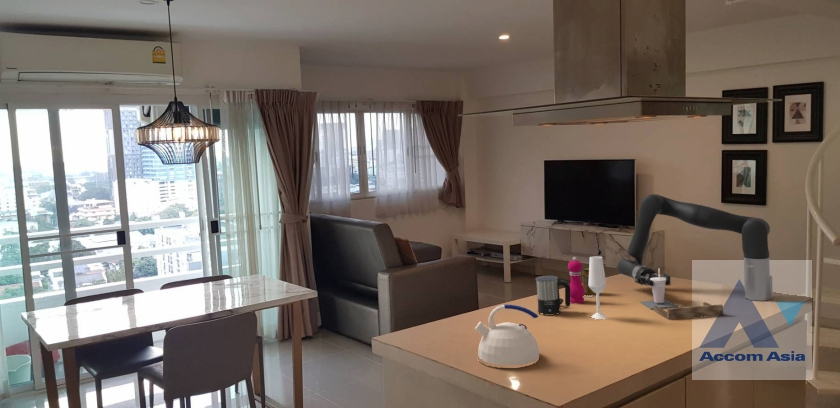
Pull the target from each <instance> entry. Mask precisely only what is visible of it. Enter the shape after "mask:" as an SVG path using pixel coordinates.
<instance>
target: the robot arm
mask: <svg viewBox="0 0 840 408" xmlns="http://www.w3.org/2000/svg"><path fill="white" fill-rule="evenodd" d="M638 212H639V213H638V217H637V222H636V226H635V229H634V233H633V235H632V238H631V241H630V243H629V246H628V248H627V255H629V256H630V257H633V258H634V260H632V259H631V260H630V259H625V258H624V259H621V260H620V261H619V262H618V263H617V271H618V272H619V273H620V274H621V275H624V276H627V277H630V278H633V279H634V283H636V284H639V285H641V286H642V285H643V286H650V287H652V286H653V281H652V280H650V278H654V277H659V274H658V273H656V271H655V270H654V269H652V268H650V267H648V266H646V265H643V259H644V253H645V251H646V247H647V245H648V242H649V238H650V230H651V228H652V224H653V222H654V220H655V219H656V216H657V215H662V216H667V217H673V218H675V219H678V220H681V221H682V222H685V223H688V224H689V225H692V226H696V227H699V228H702V229H708V230H716V231H717V230H719V231H728V232H729V231H730V232H734V233H737V234H739V235H740V234H741V244H742V252H743V271H744V272H743V275H744V276H743V277H744V278H743V280H744V283H743V285H744V298H745V299H746V298H747V299H746V300H749V301H750V300H751V301H756V302H758V301H759V302H761V301H769V300H773V298H774V297H773V294H774V293H773V276H772V275H771V274H770V273H771V271H770V270H771V269H770V267H771V266H770V250H769V244H768V243H769V242H768V238H769V237H768V236H769V234H770V233H771V228H770V225H769V223H768V222H767V221H766V220H765V219H763V218H760V217H753V216H745V215H739V214H735V213H730V212H728V211H725V210H721V209H718V208H714V207H710V206H706V205H702V204H697V203H692V202H684V201H678V200H675V199H671V198H669V197H665V196H662V195H660V194H656V193H654V194H647V195H646V196H643V198H642V199H641V203H640V208H639V211H638ZM660 277H662V278H666V283H665V285H667V286H669V285H671V276H670V275H668V274H667V273H663V274H660Z"/></svg>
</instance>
